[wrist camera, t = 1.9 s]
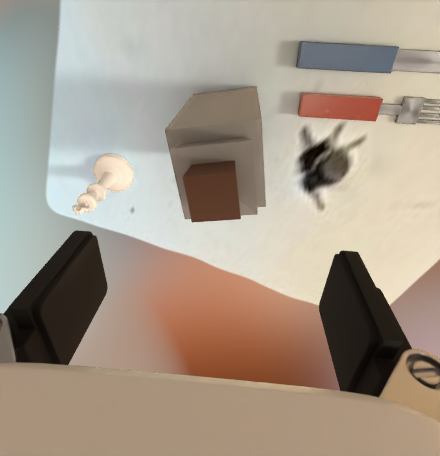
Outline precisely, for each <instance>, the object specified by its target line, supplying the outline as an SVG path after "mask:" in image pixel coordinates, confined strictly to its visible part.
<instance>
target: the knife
mask: <svg viewBox="0 0 440 456" xmlns="http://www.w3.org/2000/svg"><path fill="white" fill-rule="evenodd" d="M296 67H297V68H305V69H323V70H341V71H358V72H376V73H391V72H392V71H410V72H428V73H440V51H426V50H407V49H399V47H396V46H379V45H360V44H341V43H322V42H303V41H301V42H300V47H299V53H298V59H297V65H296Z"/></svg>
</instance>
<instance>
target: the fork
mask: <svg viewBox="0 0 440 456" xmlns="http://www.w3.org/2000/svg"><path fill="white" fill-rule="evenodd" d="M382 100H383V99H382V98H380V97H369V96H353V95H336V94H319V93H302V94H301V100H300V105H299V111H298V115H299V116H301V117H316V118H332V119H348V120H364V121H376V119H377V116H378V114H385V115H397V118H396V121H395V122H396V123H402V124H416V123H423V124H439V125H440V120H424V119H418V117H431V118H440V114H433V113H420V111H421V110H434V111H440V107H436V106H423V104H424V103H431V104H440V100H434V99H425V98H422V97H404V98H403V101H402V104H401V105H398V104H382Z"/></svg>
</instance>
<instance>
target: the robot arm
mask: <svg viewBox="0 0 440 456" xmlns="http://www.w3.org/2000/svg"><path fill="white" fill-rule="evenodd" d="M106 292H107V282H106V277H105V273H104V268H103V263H102V259H101V254H100V250H99V245H98V240H97V237H96V236H93V234H92V233H91V232H89V231H74V232H73V233H72V234H71V235H70V237H69V238H68V239H67V240H66V241H65V242H64V244H63V245H62V246H61V247H60V248H59V250H58V251H57V252H56V253H55V254H54V255H53V256H52V257H51V259H50V260H49V261H48V262H47V263H46V264H45V266H44V267H43V268H42V269H41V270H40V271H39V273H38V274H37V275H36V276H35V277H34V278H33V279H32V281H31V282H30V283H29V284H28V285H27V286H26V287H25V289H24V290H23V291H22V292H21V293H20V295H19V296H18V297H17V298H16V299H15V300H14V301H13V303H12V304H11V305H10V306H9V308H8V309H7V310H6V311H5V313H4V314H1V313H0V456H440V359H439V358H438V357H436V356H435V355H433V354H430V353H429V352H426V351H423V350H419V349H412V348H411V346H410V344H409V342H408V340H407V338H406V336H405V335H404V333H403V331H402V329H401V327H400V325H399V323H398V321H397V319H396V318H395V316H394V314H393V312H392V310H391V308H390V306H389V304H388V302H387V300H386V298H385V297H384V295H383V293H382V291H381V290H380V289H379V288H376V286H375V284H374V282H373V280H372V278H371V277H370V275H369V273H368V271H367V269H366V267H365V265H364V263H363V261H362V259H361V257H360V255H359V253H358V252H353V251H341V252H340V253H339V254H335V256H334V259H333V262H332V265H331V268H330V272H329V275H328V278H327V281H326V284H325V287H324V291H323V294H322V297H321V300H320V304H319V311H320V315H321V319H322V323H323V327H324V330H325V334H326V338H327V342H328V345H329V349H330V353H331V357H332V361H333V365H334V368H335V372H336V376H337V380H338V383H339V387H340V391H337V390H328V389H320V388H311V387H302V386H292V385H282V384H271V383H262V382H251V381H241V380H231V379H220V378H209V377H199V376H188V375H177V374H165V373H155V372H144V371H133V370H132V371H131V370H121V369H110V368H109V369H108V368H96V367H87V366H73V365H68V364H69V362H70V360H71V359H72V357H73V355H74V353H75V351H76V349H77V347H78V346H79V344H80V342H81V340H82V338H83V336H84V334H85V332H86V331H87V329H88V327H89V325H90V323H91V321H92V319H93V317H94V315H95V314H96V312H97V310H98V308H99V306H100V304H101V302H102V301H103V299H104V297H105V295H106Z"/></svg>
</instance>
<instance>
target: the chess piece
mask: <svg viewBox="0 0 440 456" xmlns="http://www.w3.org/2000/svg"><path fill="white" fill-rule="evenodd" d="M94 175H95V178H96V179H97V181H98V184H90V185H89V186H88V187H87V193H84V194H81V195H80V196H79V197H78V199H77V202H78V205H74V206H73V207H72V209H73V211H75V212H76V215H81V214H82V212H90V211H93V210H94V209H95V208H96V207H97V201H101V200H103V199H105V197H106V191H105V190H106V189H107V190H110V191H114V192H120V191H124V190H126V189H127V188H128V187H129V186H130V185H131V184H132V182H133V179H134V173H133V169H132V167H131V165H130V164H129V163H128V162H127V161H126V160H125V159H124V158H122V157H121V156H118V155H115V154H105V155H103V156H101V157H100V158H99V159H98V160H97V162H96V163H95V165H94Z"/></svg>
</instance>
